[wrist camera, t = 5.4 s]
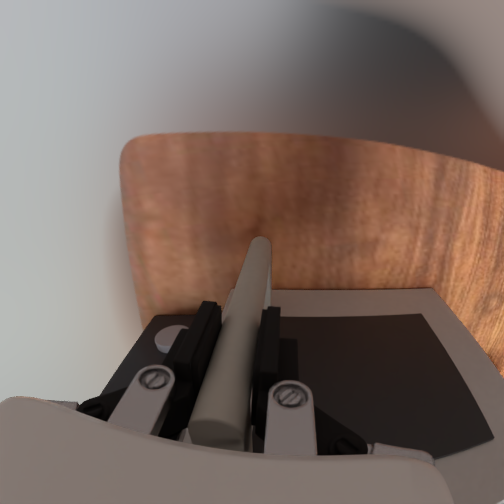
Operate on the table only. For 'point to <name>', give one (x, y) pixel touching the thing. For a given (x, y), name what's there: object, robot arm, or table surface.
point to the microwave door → (364, 374)
